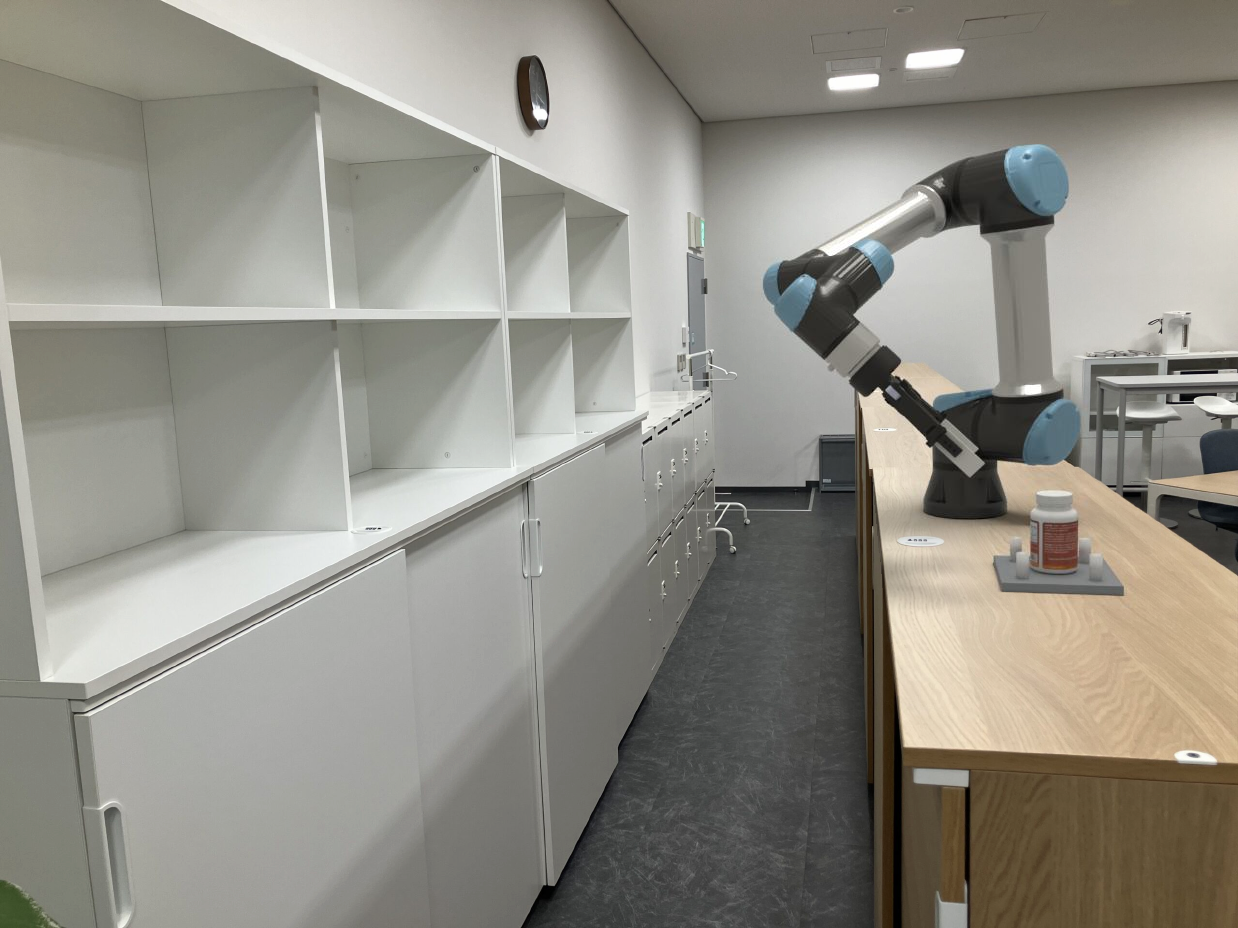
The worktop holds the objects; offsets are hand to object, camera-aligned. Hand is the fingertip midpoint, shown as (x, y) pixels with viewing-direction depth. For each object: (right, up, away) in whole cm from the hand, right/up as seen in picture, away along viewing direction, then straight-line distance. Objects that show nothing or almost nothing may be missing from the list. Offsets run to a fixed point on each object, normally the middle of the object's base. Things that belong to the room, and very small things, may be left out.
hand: (974, 462), depth 133 cm
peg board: (+11, -16, -1) cm, 20 cm away
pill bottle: (+11, -15, -1) cm, 19 cm away
